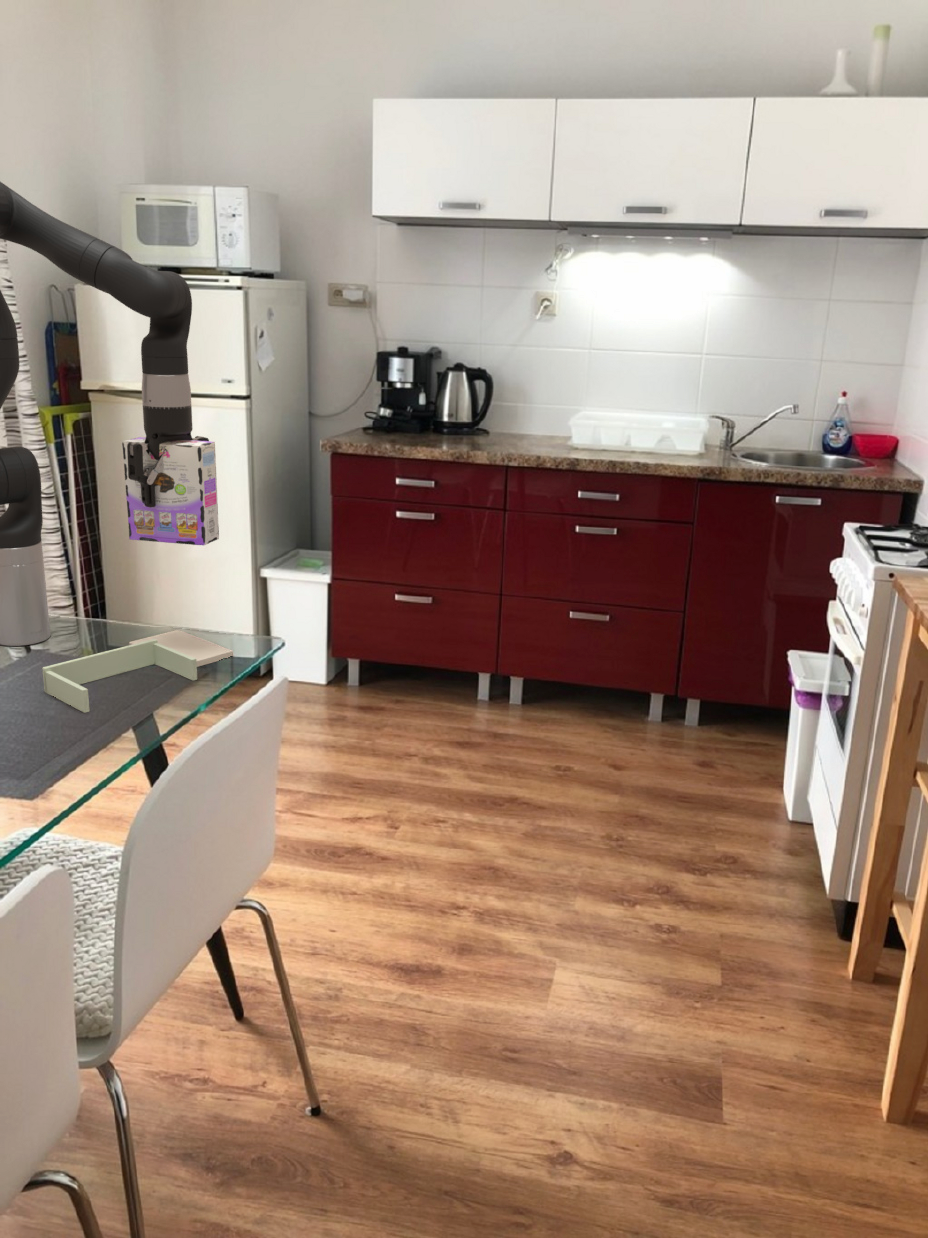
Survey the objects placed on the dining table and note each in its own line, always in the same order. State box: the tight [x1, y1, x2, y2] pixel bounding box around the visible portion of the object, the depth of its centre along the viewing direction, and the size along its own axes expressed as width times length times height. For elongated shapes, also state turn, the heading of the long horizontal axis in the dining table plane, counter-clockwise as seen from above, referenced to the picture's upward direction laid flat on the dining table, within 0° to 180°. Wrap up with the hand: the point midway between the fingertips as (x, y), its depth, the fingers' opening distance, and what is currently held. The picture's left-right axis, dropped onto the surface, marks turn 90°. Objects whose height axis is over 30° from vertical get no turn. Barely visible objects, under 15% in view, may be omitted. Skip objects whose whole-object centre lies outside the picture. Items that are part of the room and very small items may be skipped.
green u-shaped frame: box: [42, 639, 198, 714], centre depth 163 cm, size 12×20×4 cm, turn 139°
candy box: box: [121, 436, 220, 546], centre depth 171 cm, size 14×6×16 cm, turn 76°
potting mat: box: [128, 629, 234, 668], centre depth 179 cm, size 16×10×1 cm, turn 49°
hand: (172, 503), depth 171 cm, fingers closed on candy box, 8 cm apart
